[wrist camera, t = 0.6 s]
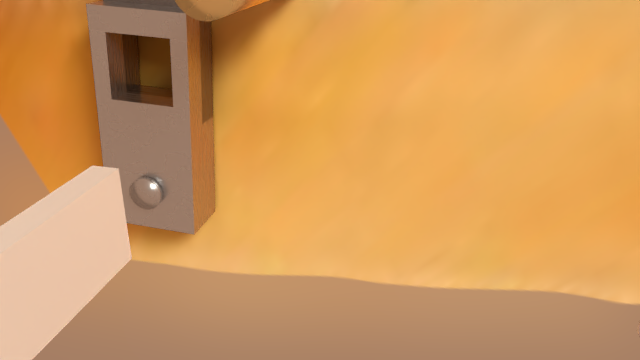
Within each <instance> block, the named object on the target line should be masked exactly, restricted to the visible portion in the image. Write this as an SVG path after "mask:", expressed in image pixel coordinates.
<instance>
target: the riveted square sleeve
mask: <svg viewBox="0 0 640 360" xmlns="http://www.w3.org/2000/svg"><path fill="white" fill-rule="evenodd" d="M86 7H87V17H88V26H89V36H90V45H91V55H92V64H93V73H94V83H95V92H96V102H97V111H98V120H99V130H100V139H101V149H102V158H103V167H111V168H119V175H120V181H121V188H122V195H123V202H124V209H125V216H126V223H130V224H136V225H141V226H147V227H153V228H159V229H165V230H171V231H177V232H183V233H189V234H195V233H196V232H197V231H198V230H199V229H200V228H201V226H202V225H203V224H204V223H205V222H206V221H207V220H208V218H209V217H210V216H211V215H212V214H213V213H214V212H215V184H214V137H213V89H212V41H211V21H200V20H196V19H194V18H192V17H190V16H188V15H187V14H186V13H184V12H183V11H182V10H181V9H180V8H179V6H178V5H177V3H176V2H175V0H103V1H98V2H93V3H88V4H86ZM137 35H139V36H148V37H158V38H168V39H170V53H171V73H172V89H166V88H158V87H150V86H141V85H140V73H139V59H138V45H137Z"/></svg>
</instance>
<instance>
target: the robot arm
mask: <svg viewBox="0 0 640 360" xmlns="http://www.w3.org/2000/svg"><path fill="white" fill-rule="evenodd" d="M131 258H132V257H131V250H130V243H129V236H128V229H127V223H126V216H125V209H124V202H123V195H122V188H121V181H120V175H119V168H111V167H101V166H91V167H89V168H88V169H86V170H85V171H83V172H82V173H80V174H79V175H77V176H76V177H74V178H73V179H71V180H70V181H68V182H67V183H65V184H64V185H62V186H61V187H59V188H58V189H56V190H55V191H53V192H52V193H50V194H49V195H47V196H46V197H44V198H43V199H41V200H40V201H38V202H37V203H35V204H34V205H32V206H31V207H29V208H27V209H26V210H25V211H23V212H21V213H20V214H18V215H17V216H15V217H14V218H12V219H11V220H9V221H8V222H6V223H5V224H3V225H2V226H0V360H32V359H33V358H34V357H35V356H36V355H37V354H38V353H39V352H40V351H41V350H42V349H43V348H44V347H45V346H46V345H47V344H48V343H49V342H50V341H51V340H52V339H53V338H54V337H55V336H56V335H57V333H59V332H60V331H61V330H62V329H63V328H64V326H66V324H68V323H69V322H70V321H71V319H72V318H73V317H74V316H75V315H76V314H77V313H78V312H79V311H80V310H81V309H82V308H83V307H84V306H85V305H86V304H87V303H88V302H89V301H90V300H91V299H92V298H93V297H94V296H95V295H96V294H97V293H98V292H99V291H100V290H101V289H102V288H103V287H104V286H105V285H106V284H107V283H108V282H109V281H110V280H111V279H112V278H113V277H114V276H115V274H117V273H118V272H119V271H120V270H121V269H122V268H123V267H124V266H125V264H126V263H128V262H129V261H130V259H131ZM637 331H638V334H639V336H640V322H639V325H638V329H637Z"/></svg>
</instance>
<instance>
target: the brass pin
mask: <svg viewBox="0 0 640 360" xmlns="http://www.w3.org/2000/svg"><path fill="white" fill-rule="evenodd" d="M266 1H269V0H175V2H176V3H177V5H178V6H179V8H180V9H181V10H182V11H183V12H184V13H186V14H187V15H188V16H190V17H192V18H194V19H196V20H200V21H214V20H217V19H220V18H223V17H225V16H228V15H231V14H233V13H236V12H239V11H242V10H244V9H247V8H250V7H252V6H255V5H258V4H260V3H263V2H266Z"/></svg>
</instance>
